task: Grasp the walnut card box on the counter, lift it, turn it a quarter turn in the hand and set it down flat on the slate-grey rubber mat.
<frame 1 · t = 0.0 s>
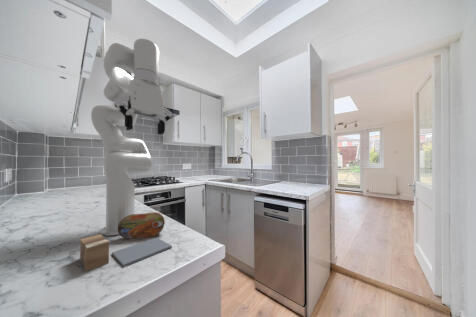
hand: (146, 131, 55), 37 cm above the table, tool pointing down, fingers open, 9 cm apart
mat: (142, 250, 51), on the table
tin: (142, 236, 62), on the table
card box: (94, 261, 46), on the table
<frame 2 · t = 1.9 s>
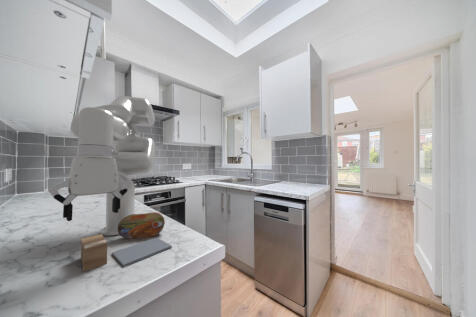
hand: (93, 215, 46), 12 cm above the table, tool pointing down, fingers open, 9 cm apart
nothing on the table moved.
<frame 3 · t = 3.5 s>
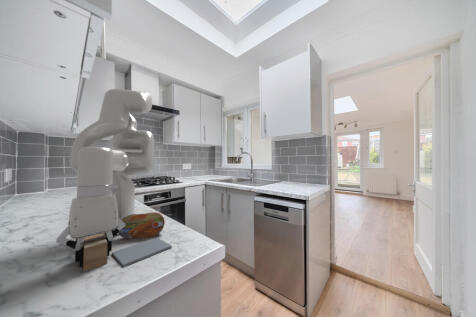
hand: (94, 258, 46), 1 cm above the table, tool pointing down, fingers closed on card box, 4 cm apart
card box: (93, 260, 46), on the table, touching gripper
everything else where it was.
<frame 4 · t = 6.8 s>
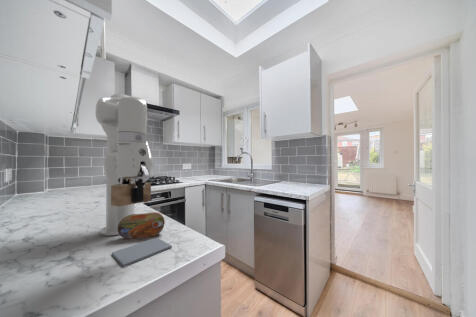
hand: (131, 200, 50), 15 cm above the table, tool pointing down, fingers closed on card box, 4 cm apart
card box: (131, 202, 50), point 15 cm above the table, touching gripper
everything else where it was.
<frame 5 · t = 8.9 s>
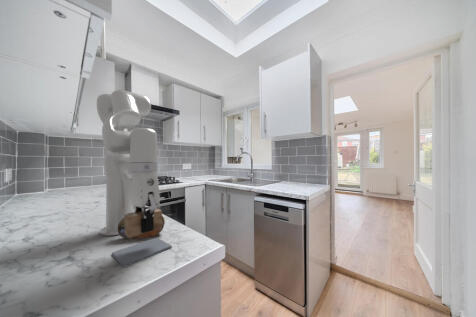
hand: (143, 228, 51), 7 cm above the table, tool pointing down, fingers closed on card box, 4 cm apart
card box: (143, 231, 51), point 6 cm above the table, touching gripper
everything else where it was.
when the fingers open (3 cm above the table, at t = 10.4 s): card box drops 1 cm, resting on mat.
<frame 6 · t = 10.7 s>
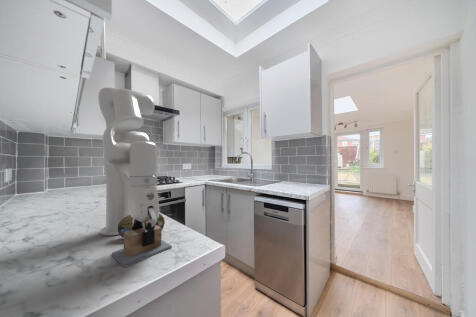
hand: (142, 240, 51), 3 cm above the table, tool pointing down, fingers open, 7 cm apart
card box: (143, 248, 51), point 1 cm above the table, touching mat
everything else where it was.
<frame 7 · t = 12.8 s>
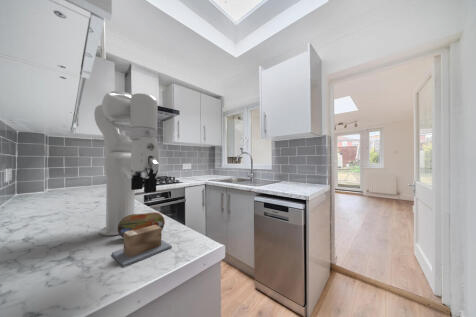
hand: (143, 190, 52), 18 cm above the table, tool pointing down, fingers open, 9 cm apart
nothing on the table moved.
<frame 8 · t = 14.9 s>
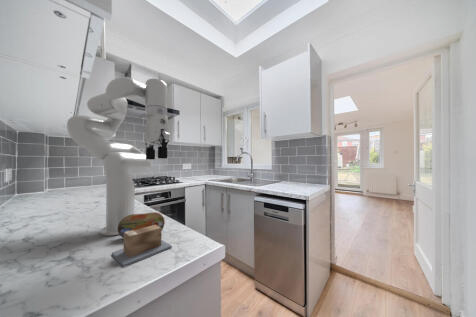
hand: (156, 158, 63), 28 cm above the table, tool pointing down, fingers open, 9 cm apart
nothing on the table moved.
at the end: card box inside the target area on the mat (0.1 cm from its centre), point 0.6 cm above the mat's base; card box tilted 0°; the gripper is holding nothing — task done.
